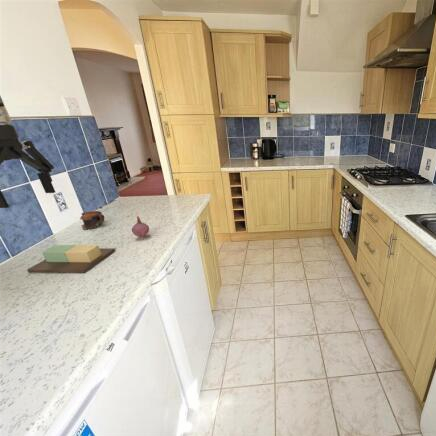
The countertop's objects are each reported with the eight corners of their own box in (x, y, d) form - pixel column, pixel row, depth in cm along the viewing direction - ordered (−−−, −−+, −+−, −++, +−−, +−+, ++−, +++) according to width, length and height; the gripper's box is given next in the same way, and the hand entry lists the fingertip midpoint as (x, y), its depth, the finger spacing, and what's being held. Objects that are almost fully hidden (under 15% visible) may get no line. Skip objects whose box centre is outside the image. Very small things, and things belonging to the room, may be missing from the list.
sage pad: (46, 262, 84) (41, 252, 83) (60, 254, 89) (55, 244, 87) (68, 262, 84) (63, 252, 82) (80, 254, 89) (76, 245, 87)
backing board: (28, 272, 81) (26, 269, 80) (66, 250, 94) (65, 248, 93) (85, 273, 80) (83, 270, 79) (115, 251, 93) (114, 248, 92)
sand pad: (68, 262, 84) (64, 252, 82) (81, 254, 89) (76, 245, 87) (90, 262, 84) (86, 252, 82) (101, 254, 88) (98, 245, 86)
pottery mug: (75, 231, 111) (73, 213, 112) (96, 231, 120) (94, 215, 121) (96, 225, 108) (94, 208, 109) (116, 226, 118) (113, 209, 118)
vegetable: (153, 236, 103) (147, 215, 99) (138, 242, 98) (131, 220, 94) (147, 233, 106) (141, 211, 102) (132, 238, 102) (125, 216, 98)
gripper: (-59, 126, 53) (-9, 215, 62) (50, 122, 76) (76, 187, 84) (-90, 127, 54) (-36, 215, 62) (28, 123, 76) (56, 187, 85)
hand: (29, 199), depth 73 cm, fingers open, 13 cm apart
